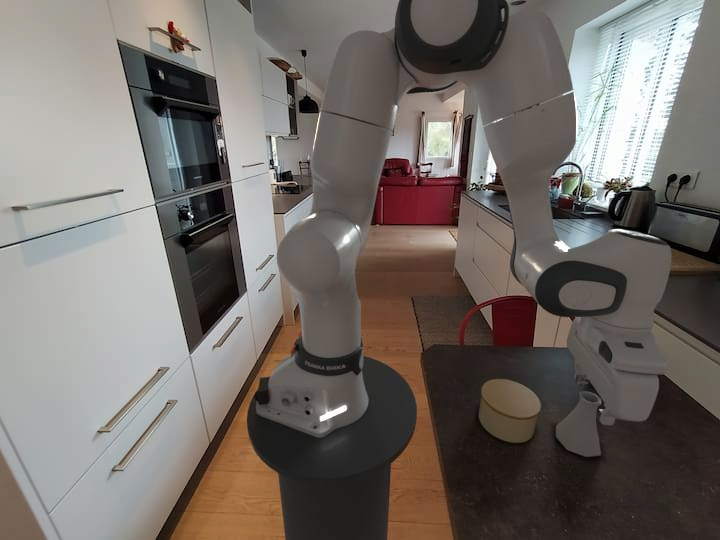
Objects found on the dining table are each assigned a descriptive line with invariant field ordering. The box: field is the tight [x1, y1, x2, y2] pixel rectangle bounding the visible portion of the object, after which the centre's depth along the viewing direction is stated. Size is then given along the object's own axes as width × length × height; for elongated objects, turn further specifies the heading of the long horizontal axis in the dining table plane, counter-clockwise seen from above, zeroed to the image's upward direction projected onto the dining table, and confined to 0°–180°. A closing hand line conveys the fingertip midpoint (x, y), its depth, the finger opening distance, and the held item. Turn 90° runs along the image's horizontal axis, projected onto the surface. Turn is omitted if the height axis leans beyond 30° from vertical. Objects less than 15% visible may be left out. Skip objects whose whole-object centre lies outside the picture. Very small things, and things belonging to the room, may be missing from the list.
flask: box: [555, 390, 602, 458], centre depth 58 cm, size 7×7×10 cm
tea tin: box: [478, 378, 542, 444], centre depth 63 cm, size 10×10×6 cm
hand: (591, 401), depth 56 cm, fingers open, 8 cm apart
